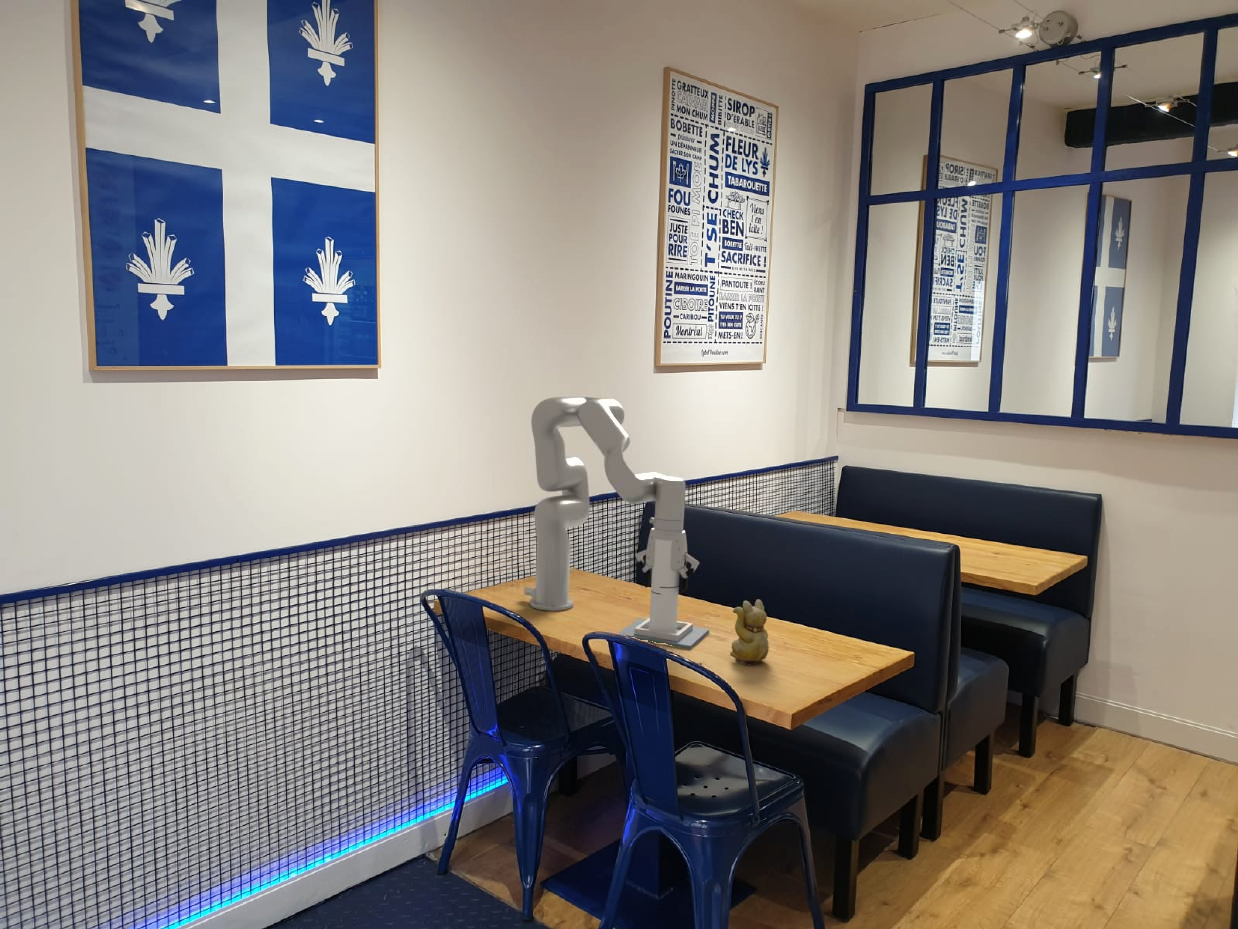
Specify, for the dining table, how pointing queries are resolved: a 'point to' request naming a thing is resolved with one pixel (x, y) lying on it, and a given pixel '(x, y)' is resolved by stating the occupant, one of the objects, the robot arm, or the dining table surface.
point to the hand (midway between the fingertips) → (665, 589)
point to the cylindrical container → (663, 590)
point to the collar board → (666, 634)
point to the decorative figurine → (750, 634)
